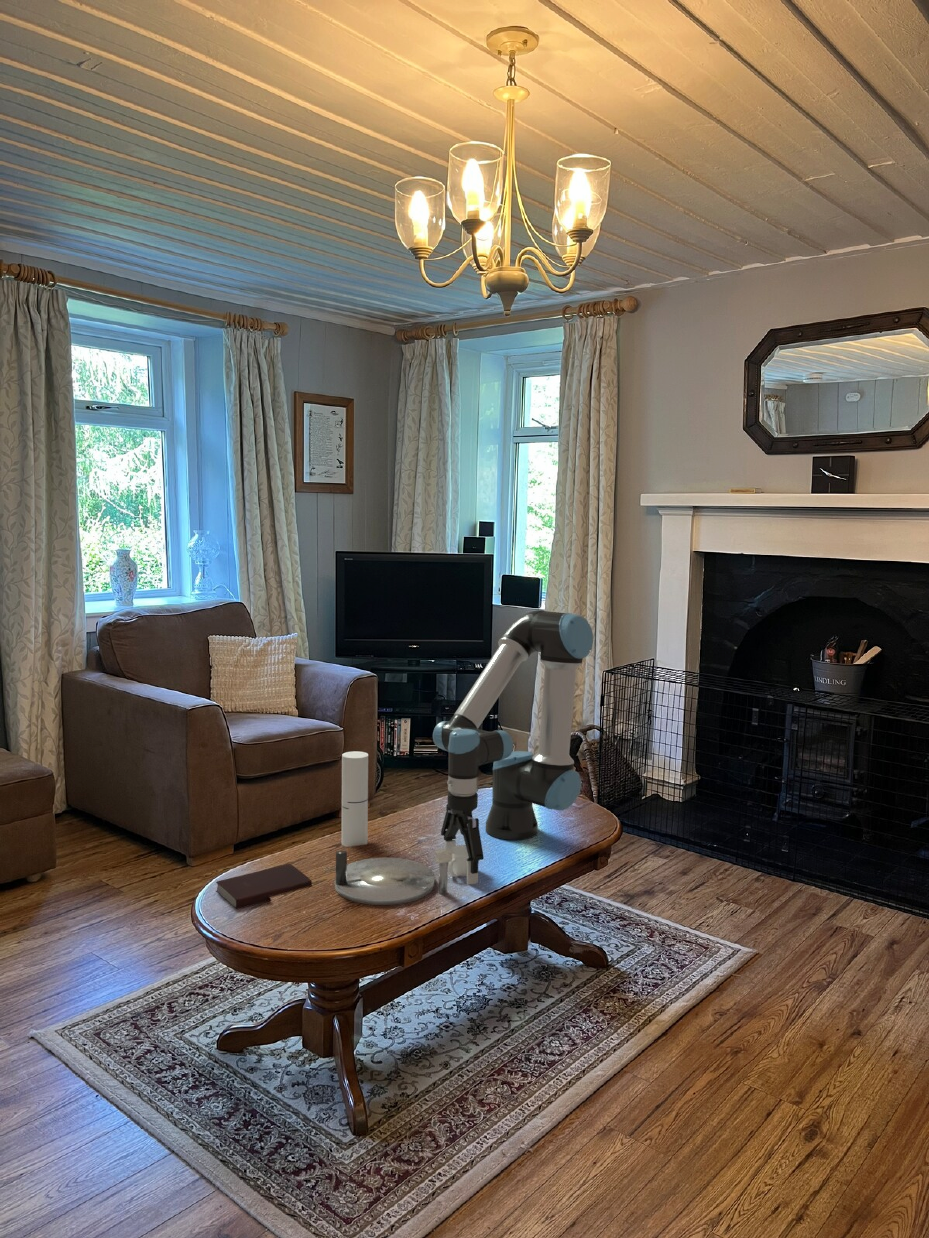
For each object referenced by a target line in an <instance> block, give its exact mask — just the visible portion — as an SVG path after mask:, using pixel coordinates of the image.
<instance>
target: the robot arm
mask: <svg viewBox="0 0 929 1238" xmlns="http://www.w3.org/2000/svg"><path fill="white" fill-rule="evenodd" d="M592 628H593V627H592V625H591V624H590V623H589V621H588V620H587V618H585V616H582V615H579V614H574V613H571V612H556V611H548V610H544V609H543V610H542V609H541V610H539V609H538V610H532V611H529V612H527V613H525V614H523V615H522V616H520V617H519V618H518V619H516V620H515V621H514V622H513V623H512V624H511V625H509V627H508V628H507V629H505V632H504V633H503V634H502V635H501V637H500V638H499V640H498V641H497V644H498V648H497V649H496V651H495V652H494V654H493V655H492V657H491V658H490V660H489V661H488V663H487V664H486V666H485V668H484V669H482V671H481V673H480V675H479V676H478V678H477V679H476V681H475V682H474V684H473V685H472V687H471V688H470V690H469V691H468V693H467V694H466V696H465V697H464V699H463V701H462V702H461V703H460V705H459V706H458V708H457V710H456V711H455V712H454V714H453V716H451V718H450V720H448V721H447V720H446V721H445V720H444V721H440V722H439V723H437V724H436V725H435V727H434V729H433V732H432V740H433V743H434V745H435V746H436V747H437V748H439V749H440V750H442V751H446V752H448V758H447V759H448V762H447V765H448V772H447V773H448V777H447V778H448V780H447V781H446V784H447V791H448V792H447V801H446V802H447V804H446V808H445V809H446V810H445V815H444V819H443V823H442V826H441V827H442V828H441V831H440V835H441V836H443V839H444V840H443V841H444V849H445V848H452V847H454V846H457V843H456V842H457V841H456V839H457V836H456V835H457V834H458V832H460V834H461V835H462V837H463V840H464V845H466V848H467V852H468V856H469V858H468V859H467V876H466V885H473V884H474V885H475V884H479V883H478V881H479V864H478V861H479V862H480V861H482V860H484V857H485V856H484V851H483V846H482V839H481V834H480V833H481V832H480V820H479V818H478V817H477V818H474V817H473V811H475V810H476V809H477V808H478V805H479V804H478V802H479V801H478V800H479V797H478V796H479V794H478V793H477V792H479V768H480V766H483V765H487V764H491V763H493V766H492V789H491V791H492V800H491V801H492V802H491V803H492V804H491V806H490V810H489V812H488V815H487V818H486V821H485V833H486V834H488V835H489V836H492V837H494V838H497V839H500V840H501V839H503V840H508V841H509V840H510V841H517V840H519V841H520V840H527V839H531V838H534V837H535V836H537V835H538V832H539V824H538V820H537V817H536V814H535V810H534V806H533V805H536V806H540V807H544V808H546V809H548V810H554V811H560V812H561V811H566V810H568V809H569V808H570V807H571V806H572V805H573V804H574V803H575V801H577V799H578V797H579V795H580V792H581V788H582V778H581V775H580V773H579V772H578V771H576V770H574V767H575V761H574V759H573V758H572V757H571V755H570V748H571V737H572V725H573V723H572V722H573V711H574V703H575V701H574V700H575V690H576V688H575V687H576V675H577V669H579V667H580V666H581V665H582V664H583V660H584V659H585V658H587V656H589V655H590V653H591V651H592V649H593V644H594V633H593V629H592ZM535 652H536V653H537V652H538V653H540V657H539V660H540V662H541V663H542V664H543V666H544V676H543V677H544V678H543V688H542V690H543V691H542V699H541V700H542V701H541V712H540V713H541V715H540V726H539V738H538V748H537V749H538V751H537V753H535V754H534V753H533V752H531V751H525V750H519V751H518V750H515V751H514V741H513V739H512V736H511V735H510V734H509V733H508V731H505V730H502V729H501V730H500V729H499V730H493V731H487V730H484V729H479V728H480V726H481V724H482V723H483V721H484V720H485V718H486V717H487V715H488V714H489V712H490V711H491V710H492V708H493V706H494V705H495V703H496V702H497V700H498V699H499V698H500V695H501V694H502V692H504V689H506V687H507V685H508V683H509V682H510V681H511V679H512V677H513V675H514V674H515V672H516V671H517V669H518V668H519V666H520V665H521V663H522V662H526V661H528V659H529V657H530V656H531V655H532V654H533V653H535ZM448 864H449V862H448Z"/></svg>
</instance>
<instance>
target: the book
mask: <svg viewBox="0 0 929 1238" xmlns="http://www.w3.org/2000/svg"><path fill="white" fill-rule="evenodd" d="M215 883H216V884H217V886H216V887H217V889H216V890H215V892H216V893H218V894H220V896H222V897H223V898H224V899H225V900H227V901H228V902H229V903H230V904H231V905H232V906H234V907H235V909H236V910H238V909H242V908H245V907H249V906H253V905H256V904H261V903H265V902H268V900H269V901H272V899H271V897H270V896H274V895H279V894H282V893H285V892H286V893H287V892H290V891H294V890H298V889H301V888H306V887H309V886H312V885H313V882H312V879H311V878H309V877H308V876H307V875H306V874H304V873H303V872H302V871H301V870H299V869H298V868H297V867H295V866H294V865H292V864H290V863H286V864H282V865H277V866H273V867H269V868H265V869H262V870H258V871H254V872H250V873H246V874H242V875H238V876H234V877H233V876H232V877H229V878H225V879H222V880H217V881H216V882H215Z"/></svg>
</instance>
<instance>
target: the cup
mask: <svg viewBox="0 0 929 1238" xmlns="http://www.w3.org/2000/svg"><path fill="white" fill-rule="evenodd" d="M450 849H451V850H452V862H449V864H448V873H449V875H450V876H451V877H453V878H458V877H467V859H468V858H469V856H468V852H467V848H466V844H463V845H462V844H461V845H456V846H454V847H452V848H450ZM479 863H480V860H479V861H478V865H479Z"/></svg>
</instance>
